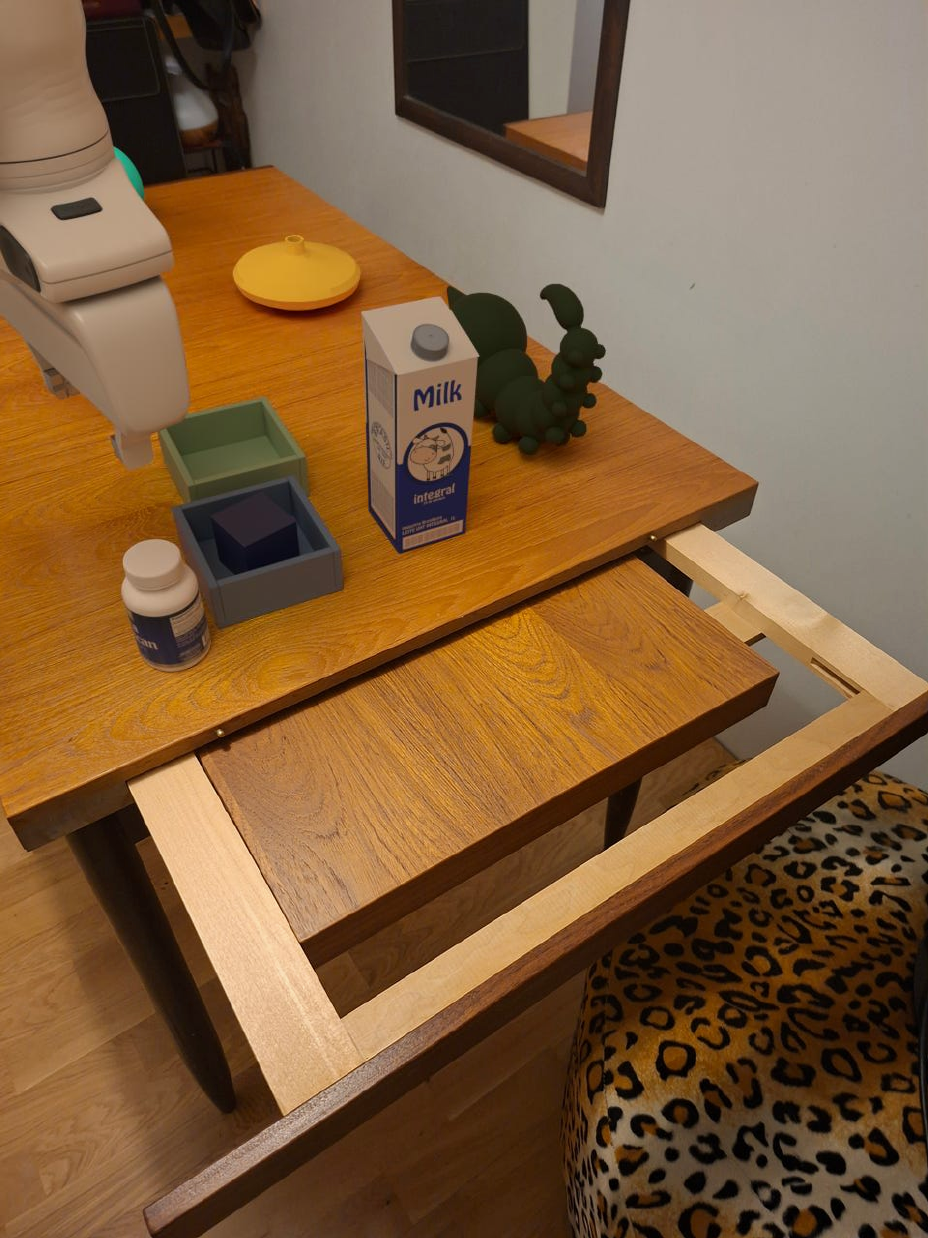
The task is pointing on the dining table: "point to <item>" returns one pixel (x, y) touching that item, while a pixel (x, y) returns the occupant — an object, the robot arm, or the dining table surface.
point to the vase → (296, 274)
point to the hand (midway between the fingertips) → (99, 425)
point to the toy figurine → (529, 368)
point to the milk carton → (418, 420)
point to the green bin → (231, 450)
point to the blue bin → (267, 584)
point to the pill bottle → (164, 606)
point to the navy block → (254, 534)
